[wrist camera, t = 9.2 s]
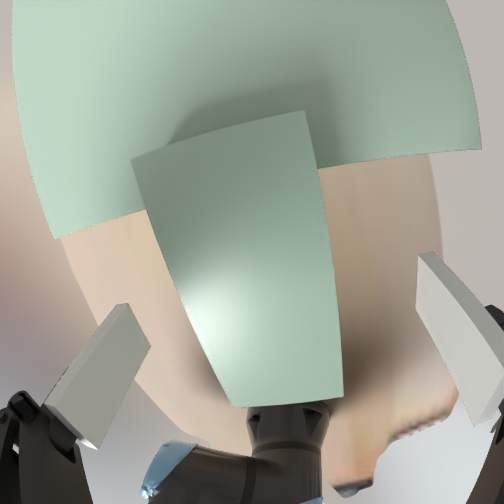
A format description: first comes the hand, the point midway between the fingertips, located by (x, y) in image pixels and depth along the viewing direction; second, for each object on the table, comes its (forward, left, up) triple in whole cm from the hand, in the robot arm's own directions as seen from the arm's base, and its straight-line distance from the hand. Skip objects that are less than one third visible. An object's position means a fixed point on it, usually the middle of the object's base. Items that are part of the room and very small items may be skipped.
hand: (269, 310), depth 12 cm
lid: (+10, 0, -3) cm, 10 cm away
